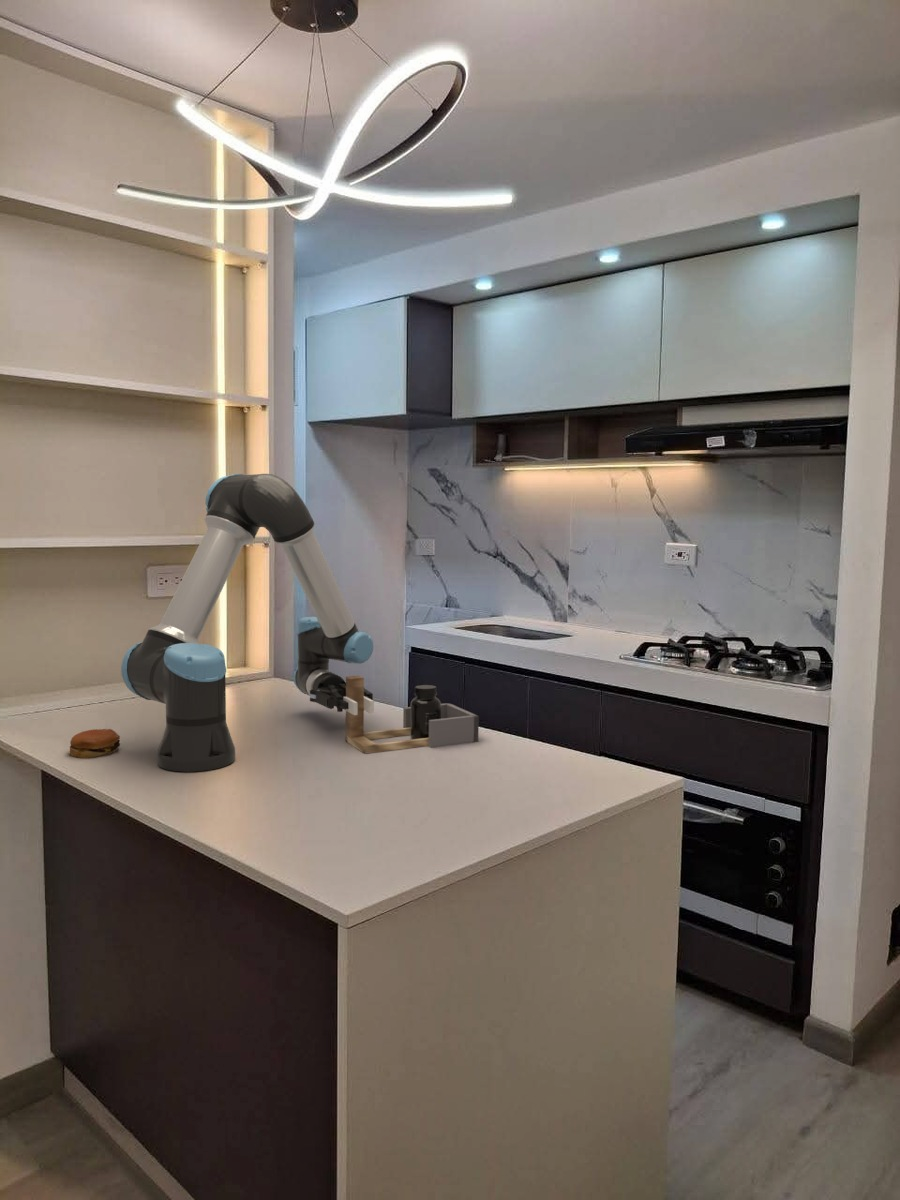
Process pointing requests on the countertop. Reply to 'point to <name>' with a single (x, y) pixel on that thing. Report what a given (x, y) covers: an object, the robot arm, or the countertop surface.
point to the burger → (94, 743)
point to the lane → (449, 726)
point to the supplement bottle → (424, 710)
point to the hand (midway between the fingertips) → (363, 708)
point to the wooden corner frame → (362, 739)
